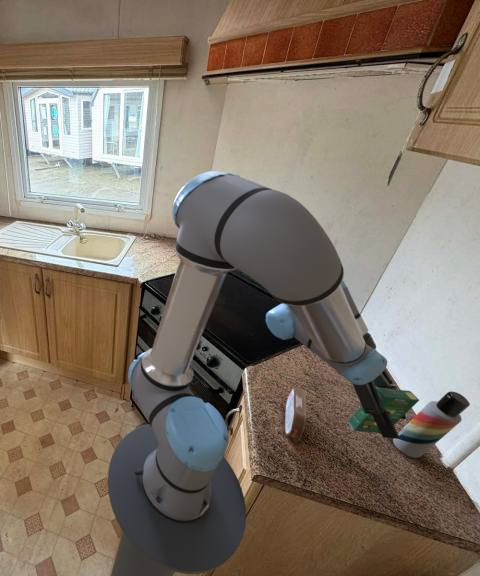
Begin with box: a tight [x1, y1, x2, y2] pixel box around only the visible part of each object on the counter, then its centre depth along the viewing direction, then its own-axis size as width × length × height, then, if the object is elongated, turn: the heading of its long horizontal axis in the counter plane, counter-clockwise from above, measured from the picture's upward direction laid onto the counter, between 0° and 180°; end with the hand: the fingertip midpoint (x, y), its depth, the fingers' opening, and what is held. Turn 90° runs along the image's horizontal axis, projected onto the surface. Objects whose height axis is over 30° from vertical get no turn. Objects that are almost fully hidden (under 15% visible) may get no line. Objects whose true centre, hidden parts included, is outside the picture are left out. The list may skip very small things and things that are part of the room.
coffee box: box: [347, 387, 420, 434], centre depth 72 cm, size 8×3×13 cm, turn 86°
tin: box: [284, 387, 307, 442], centre depth 81 cm, size 15×3×8 cm, turn 151°
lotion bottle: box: [392, 391, 471, 459], centre depth 74 cm, size 6×6×20 cm
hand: (394, 427), depth 71 cm, fingers closed on coffee box, 7 cm apart
